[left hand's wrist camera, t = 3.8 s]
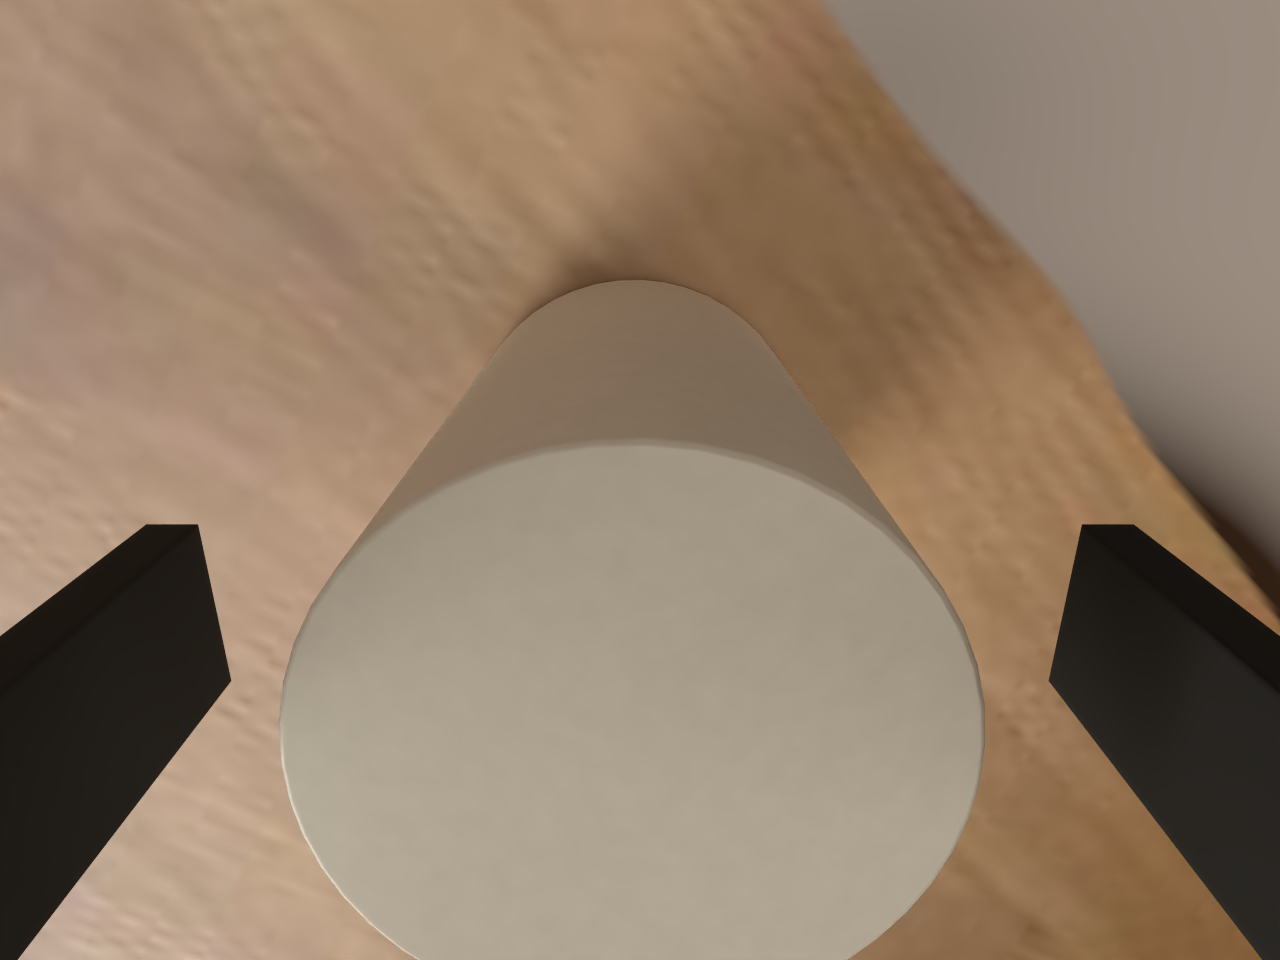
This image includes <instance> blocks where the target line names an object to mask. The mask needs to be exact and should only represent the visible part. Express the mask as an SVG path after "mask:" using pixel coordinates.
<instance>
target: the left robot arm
mask: <svg viewBox="0 0 1280 960" xmlns="http://www.w3.org/2000/svg"><path fill="white" fill-rule="evenodd" d="M230 682H231V677H230V673H229V668H228V663H227V659H226V654H225V649H224V644H223V640H222V635H221V630H220V626H219V621H218V616H217V612H216V607H215V602H214V598H213V593H212V588H211V583H210V579H209V574H208V569H207V565H206V560H205V555H204V551H203V546H202V541H201V536H200V532H199V527H198V524H146V525H145V526H144V527H142V528H141V529H140V530H138V531H137V532H136V533H135V534H133V535H132V536H131V537H129V538H128V539H127V540H125V541H124V542H123V543H121V544H120V545H119V546H118V547H116V548H115V549H114V550H112V551H111V552H110V553H108V554H107V555H106V556H104V557H103V558H102V559H101V560H99V561H98V562H97V563H95V564H94V565H93V566H91V567H90V568H89V569H87V570H86V571H85V572H84V573H82V574H81V575H80V576H78V577H77V578H76V579H74V580H73V581H72V582H70V583H69V584H68V585H67V586H65V587H64V588H63V589H61V590H60V591H59V592H57V593H56V594H55V595H53V596H52V597H51V598H50V599H48V600H47V601H46V602H44V603H43V604H42V605H40V606H39V607H38V608H36V609H35V610H34V611H33V612H31V613H30V614H29V615H27V616H26V617H25V618H23V619H22V620H21V621H19V622H18V623H17V624H16V625H14V626H13V627H12V628H10V629H9V630H8V631H6V632H5V633H4V634H2V635H1V636H0V960H18V959H19V957H20V956H21V955H22V953H23V952H24V951H25V949H26V948H27V947H28V945H29V944H30V943H31V942H32V940H33V939H34V938H35V936H36V935H37V934H38V932H39V931H40V930H41V929H42V927H43V926H44V925H45V923H46V922H47V921H48V919H49V918H50V917H51V915H52V914H53V913H54V912H55V910H56V909H57V908H58V906H59V905H60V904H61V902H62V901H63V900H64V898H65V897H66V896H67V895H68V893H69V892H70V891H71V889H72V888H73V887H74V885H75V884H76V883H77V882H78V880H79V879H80V878H81V876H82V875H83V874H84V872H85V871H86V870H87V868H88V867H89V866H90V865H91V863H92V862H93V861H94V859H95V858H96V857H97V855H98V854H99V853H100V851H101V850H102V849H103V848H104V846H105V845H106V844H107V842H108V841H109V840H110V838H111V837H112V836H113V835H114V833H115V832H116V831H117V829H118V828H119V827H120V825H121V824H122V823H123V821H124V820H125V819H126V818H127V816H128V815H129V814H130V812H131V811H132V810H133V808H134V807H135V806H136V804H137V803H138V802H139V801H140V799H141V798H142V797H143V795H144V794H145V793H146V791H147V790H148V789H149V788H150V786H151V785H152V784H153V782H154V781H155V780H156V778H157V777H158V776H159V774H160V773H161V772H162V771H163V769H164V768H165V767H166V765H167V764H168V763H169V761H170V760H171V759H172V757H173V756H174V755H175V754H176V752H177V751H178V750H179V748H180V747H181V746H182V744H183V743H184V742H185V741H186V739H187V738H188V737H189V735H190V734H191V733H192V731H193V730H194V729H195V727H196V726H197V725H198V724H199V722H200V721H201V720H202V718H203V717H204V716H205V714H206V713H207V712H208V710H209V709H210V708H211V707H212V705H213V704H214V703H215V701H216V700H217V699H218V697H219V696H220V695H221V694H222V692H223V691H224V690H225V688H226V687H227V686H228V684H229V683H230ZM1049 682H1050V683H1051V684H1052V686H1053V687H1054V688H1055V690H1056V691H1057V692H1058V694H1059V695H1060V696H1061V697H1062V699H1063V700H1064V701H1065V703H1066V704H1067V705H1068V707H1069V708H1070V709H1071V710H1072V712H1073V713H1074V714H1075V716H1076V717H1077V718H1078V720H1079V721H1080V722H1081V724H1082V725H1083V726H1084V727H1085V729H1086V730H1087V731H1088V733H1089V734H1090V735H1091V737H1092V738H1093V739H1094V741H1095V742H1096V743H1097V744H1098V746H1099V747H1100V748H1101V750H1102V751H1103V752H1104V754H1105V755H1106V756H1107V757H1108V759H1109V760H1110V761H1111V763H1112V764H1113V765H1114V767H1115V768H1116V769H1117V771H1118V772H1119V773H1120V774H1121V776H1122V777H1123V778H1124V780H1125V781H1126V782H1127V784H1128V785H1129V786H1130V788H1131V789H1132V790H1133V791H1134V793H1135V794H1136V795H1137V797H1138V798H1139V799H1140V801H1141V802H1142V803H1143V804H1144V806H1145V807H1146V808H1147V810H1148V811H1149V812H1150V814H1151V815H1152V816H1153V818H1154V819H1155V820H1156V821H1157V823H1158V824H1159V825H1160V827H1161V828H1162V829H1163V831H1164V832H1165V833H1166V835H1167V836H1168V837H1169V838H1170V840H1171V841H1172V842H1173V844H1174V845H1175V846H1176V848H1177V849H1178V850H1179V851H1180V853H1181V854H1182V855H1183V857H1184V858H1185V859H1186V861H1187V862H1188V863H1189V865H1190V866H1191V867H1192V868H1193V870H1194V871H1195V872H1196V874H1197V875H1198V876H1199V878H1200V879H1201V880H1202V882H1203V883H1204V884H1205V885H1206V887H1207V888H1208V889H1209V891H1210V892H1211V893H1212V895H1213V896H1214V897H1215V898H1216V900H1217V901H1218V902H1219V904H1220V905H1221V906H1222V908H1223V909H1224V910H1225V912H1226V913H1227V914H1228V915H1229V917H1230V918H1231V919H1232V921H1233V922H1234V923H1235V925H1236V926H1237V927H1238V929H1239V930H1240V931H1241V932H1242V934H1243V935H1244V936H1245V938H1246V939H1247V940H1248V942H1249V943H1250V944H1251V945H1252V947H1253V948H1254V949H1255V951H1256V952H1257V953H1258V955H1259V956H1260V957H1261V959H1262V960H1280V636H1279V635H1278V634H1276V633H1275V632H1274V631H1272V630H1271V629H1270V628H1268V627H1267V626H1266V625H1264V624H1263V623H1262V622H1261V621H1259V620H1258V619H1257V618H1255V617H1254V616H1253V615H1251V614H1250V613H1249V612H1247V611H1246V610H1245V609H1244V608H1242V607H1241V606H1240V605H1238V604H1237V603H1236V602H1234V601H1233V600H1232V599H1230V598H1229V597H1228V596H1227V595H1225V594H1224V593H1223V592H1221V591H1220V590H1219V589H1217V588H1216V587H1215V586H1213V585H1212V584H1211V583H1210V582H1208V581H1207V580H1206V579H1204V578H1203V577H1202V576H1200V575H1199V574H1198V573H1196V572H1195V571H1194V570H1193V569H1191V568H1190V567H1189V566H1187V565H1186V564H1185V563H1183V562H1182V561H1181V560H1179V559H1178V558H1177V557H1176V556H1174V555H1173V554H1172V553H1170V552H1169V551H1168V550H1166V549H1165V548H1164V547H1162V546H1161V545H1160V544H1159V543H1157V542H1156V541H1155V540H1153V539H1152V538H1151V537H1149V536H1148V535H1147V534H1145V533H1144V532H1143V531H1141V530H1140V529H1139V528H1138V527H1136V526H1135V525H1134V524H1082V527H1081V532H1080V536H1079V541H1078V546H1077V551H1076V555H1075V560H1074V565H1073V569H1072V574H1071V579H1070V583H1069V588H1068V593H1067V598H1066V602H1065V607H1064V612H1063V616H1062V621H1061V626H1060V630H1059V635H1058V640H1057V644H1056V649H1055V654H1054V659H1053V663H1052V668H1051V673H1050V677H1049Z"/></svg>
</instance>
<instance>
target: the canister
mask: <svg viewBox="0 0 1280 960" xmlns="http://www.w3.org/2000/svg"><path fill="white" fill-rule="evenodd" d="M279 729H280V747H281V763H282V768H283V772H284V777H285V781H286V786H287V791H288V795H289V800H290V802H291V805H292V807H293V810H294V813H295V815H296V818H297V820H298V823H299V826H300V828H301V831H302V833H303V836H304V837H305V839H306V841H307V843H308V845H309V846H310V848H311V850H312V852H313V853H314V855H315V857H316V859H317V861H318V862H319V864H320V866H321V868H322V869H323V870H324V872H325V873H326V874H327V876H328V877H329V878H330V880H331V881H332V882H333V884H334V885H335V886H336V887H337V889H338V890H339V891H340V893H341V894H342V895H343V897H344V898H345V899H346V900H347V901H348V902H349V903H350V904H351V905H352V906H353V907H354V908H355V909H356V910H357V911H358V912H359V913H360V914H361V915H362V916H363V917H364V918H365V919H366V920H367V921H368V922H369V923H370V925H372V926H373V927H374V928H375V929H377V930H378V931H379V932H380V933H382V934H383V935H384V936H385V937H387V938H388V939H389V940H390V941H392V942H393V943H394V944H395V945H397V946H398V947H399V948H400V949H402V950H403V951H405V952H407V953H408V954H410V955H411V956H413V957H414V958H416V959H418V960H848V959H849V958H850V957H852V956H853V955H855V954H856V953H857V952H859V951H860V950H862V949H863V948H864V947H866V946H867V945H869V944H870V943H871V942H873V941H874V940H876V939H877V938H878V937H880V936H881V935H882V934H883V933H884V932H885V931H886V930H887V929H888V928H890V927H891V926H892V925H893V924H894V923H895V922H896V921H897V920H898V919H900V918H901V917H902V916H903V915H904V914H905V913H906V912H907V911H908V910H909V909H910V908H911V907H912V905H913V904H914V903H915V902H916V901H917V900H918V899H919V897H920V896H921V895H922V894H923V893H924V892H925V890H926V889H927V888H928V887H929V886H930V885H931V883H932V882H933V881H934V879H935V878H936V876H937V874H938V873H939V871H940V870H941V868H942V867H943V865H944V864H945V862H946V861H947V859H948V858H949V856H950V855H951V853H952V852H953V850H954V847H955V845H956V843H957V841H958V839H959V837H960V835H961V833H962V831H963V829H964V826H965V824H966V822H967V820H968V818H969V815H970V811H971V808H972V805H973V802H974V798H975V795H976V792H977V789H978V785H979V782H980V775H981V768H982V761H983V754H984V747H985V717H984V699H983V693H982V688H981V682H980V677H979V671H978V666H977V662H976V660H975V657H974V654H973V651H972V648H971V645H970V643H969V640H968V637H967V634H966V631H965V628H964V626H963V624H962V622H961V620H960V619H959V617H958V615H957V613H956V611H955V609H954V608H953V606H952V604H951V602H950V600H949V598H948V597H947V595H946V593H945V591H944V589H943V588H942V587H941V585H940V584H939V582H938V581H937V580H936V578H935V577H934V575H933V574H932V573H931V571H930V570H929V568H928V567H927V566H926V564H925V563H924V561H923V560H922V559H921V557H920V556H919V555H918V553H917V552H916V550H915V549H914V548H913V546H912V545H911V543H910V542H909V541H908V539H907V538H906V536H905V535H904V534H903V532H902V531H901V529H900V528H899V527H898V525H897V524H896V523H895V521H894V520H893V518H892V517H891V516H890V514H889V513H888V511H887V510H886V509H885V507H884V506H883V504H882V503H881V502H880V500H879V499H878V497H877V496H876V495H875V493H874V492H873V491H872V489H871V488H870V486H869V485H868V484H867V482H866V481H865V479H864V478H863V477H862V475H861V474H860V472H859V471H858V470H857V468H856V467H855V465H854V464H853V463H852V461H851V460H850V459H849V457H848V456H847V454H846V453H845V452H844V450H843V449H842V447H841V446H840V445H839V443H838V442H837V440H836V439H835V438H834V436H833V435H832V433H831V432H830V431H829V429H828V428H827V427H826V425H825V424H824V422H823V421H822V420H821V418H820V417H819V415H818V414H817V413H816V411H815V410H814V408H813V407H812V406H811V404H810V403H809V401H808V400H807V399H806V397H805V396H804V395H803V393H802V392H801V390H800V389H799V388H798V386H797V385H796V383H795V382H794V381H793V379H792V378H791V376H790V375H789V374H788V372H787V371H786V369H785V368H784V367H783V365H782V364H781V363H780V361H779V360H778V358H777V357H776V356H775V354H774V353H773V352H772V350H771V349H770V348H769V346H768V345H767V344H766V342H765V341H764V340H763V338H762V337H761V336H760V335H759V334H758V333H757V332H756V331H755V330H754V329H753V328H752V327H751V326H750V325H749V324H748V323H747V322H746V321H745V320H744V319H742V318H741V317H740V316H738V315H737V314H736V313H734V312H733V311H732V310H730V309H729V308H728V307H726V306H724V305H723V304H721V303H719V302H717V301H715V300H714V299H712V298H710V297H708V296H706V295H704V294H701V293H698V292H696V291H693V290H691V289H688V288H685V287H681V286H677V285H673V284H669V283H665V282H657V281H647V280H618V281H612V282H605V283H599V284H594V285H591V286H588V287H584V288H581V289H578V290H574V291H572V292H570V293H568V294H565V295H563V296H561V297H559V298H557V299H554V300H552V301H551V302H549V303H548V304H546V305H545V306H543V307H541V308H540V309H538V310H537V311H535V312H534V313H532V314H531V315H530V316H529V317H528V318H527V319H525V320H524V321H523V322H522V323H521V324H519V325H518V326H517V327H516V328H515V329H514V330H513V332H512V333H511V334H510V335H509V336H508V337H507V338H506V339H505V340H504V342H503V343H502V344H501V345H500V347H499V348H498V349H497V351H496V352H495V353H494V355H493V356H492V358H491V359H490V360H489V362H488V363H487V364H486V366H485V367H484V368H483V370H482V371H481V372H480V374H479V375H478V377H477V378H476V379H475V381H474V382H473V383H472V385H471V386H470V387H469V389H468V390H467V391H466V393H465V394H464V396H463V397H462V398H461V400H460V401H459V402H458V404H457V405H456V406H455V408H454V409H453V410H452V412H451V413H450V415H449V416H448V417H447V419H446V420H445V421H444V423H443V424H442V425H441V427H440V428H439V429H438V431H437V432H436V434H435V435H434V436H433V438H432V439H431V440H430V442H429V443H428V444H427V446H426V447H425V448H424V450H423V451H422V453H421V454H420V455H419V457H418V458H417V459H416V461H415V462H414V463H413V465H412V466H411V467H410V469H409V470H408V471H407V473H406V474H405V476H404V477H403V478H402V480H401V481H400V482H399V484H398V485H397V486H396V488H395V489H394V490H393V492H392V493H391V495H390V496H389V497H388V499H387V500H386V501H385V503H384V504H383V505H382V507H381V508H380V509H379V511H378V512H377V514H376V515H375V516H374V518H373V519H372V520H371V522H370V523H369V524H368V526H367V527H366V528H365V530H364V531H363V533H362V534H361V535H360V537H359V538H358V539H357V541H356V542H355V543H354V545H353V546H352V547H351V549H350V550H349V552H348V553H347V554H346V556H345V557H344V558H343V560H342V561H341V562H340V564H339V565H338V566H337V568H336V569H335V571H334V572H333V574H332V575H331V577H330V578H329V580H328V581H327V583H326V584H325V586H324V587H323V589H322V590H321V592H320V593H319V595H318V596H317V598H316V599H315V601H314V602H313V604H312V605H311V607H310V609H309V611H308V614H307V616H306V618H305V620H304V622H303V625H302V627H301V629H300V631H299V633H298V636H297V638H296V640H295V642H294V645H293V648H292V652H291V656H290V659H289V663H288V667H287V670H286V674H285V678H284V681H283V689H282V698H281V708H280V717H279Z"/></svg>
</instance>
